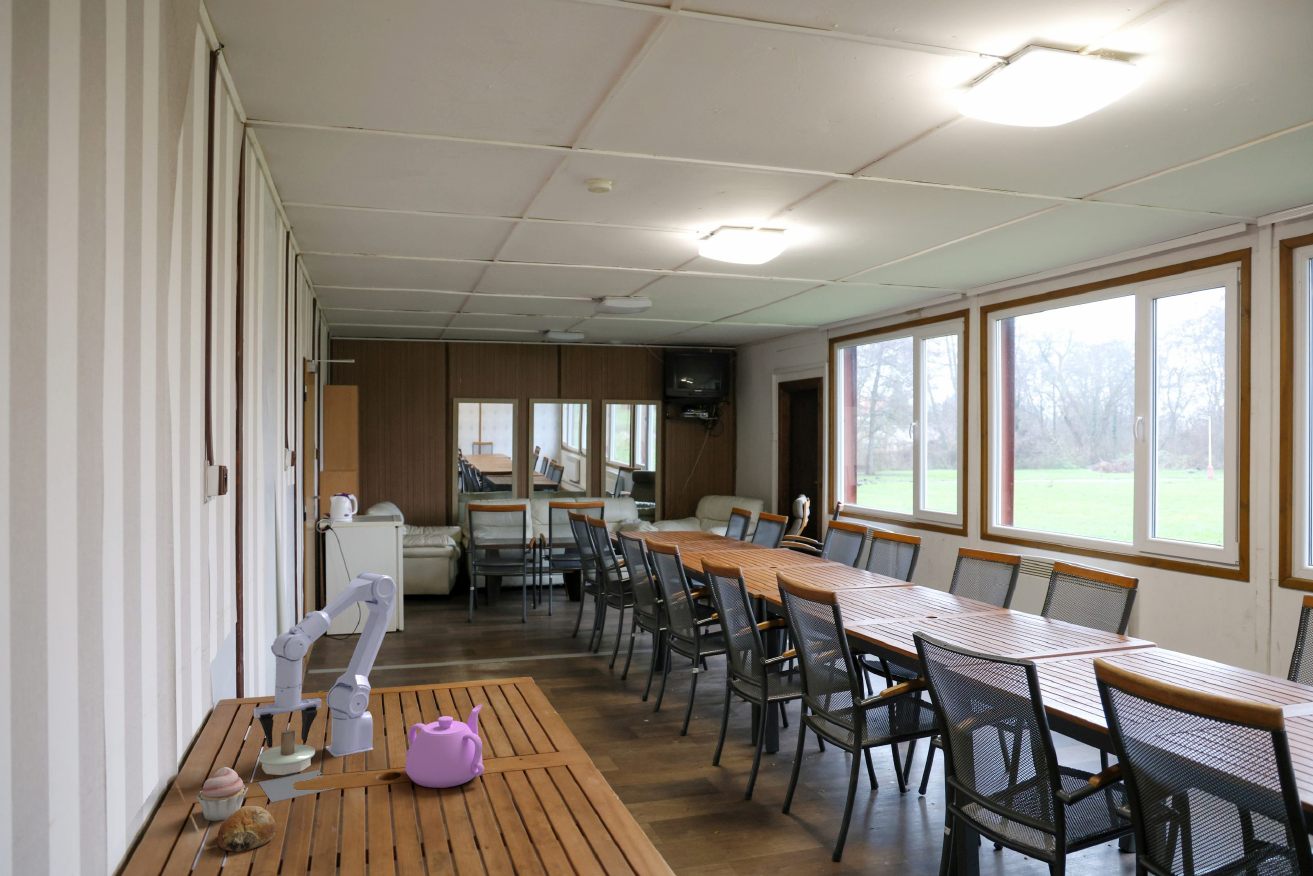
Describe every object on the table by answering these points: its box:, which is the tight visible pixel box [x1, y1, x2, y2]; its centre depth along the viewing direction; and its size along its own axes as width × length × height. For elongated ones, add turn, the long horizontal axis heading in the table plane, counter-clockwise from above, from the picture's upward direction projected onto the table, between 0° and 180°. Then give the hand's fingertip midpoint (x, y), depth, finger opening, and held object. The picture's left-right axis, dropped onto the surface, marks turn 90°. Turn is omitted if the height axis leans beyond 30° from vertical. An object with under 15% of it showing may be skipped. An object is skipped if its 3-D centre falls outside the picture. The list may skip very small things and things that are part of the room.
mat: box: [257, 769, 336, 803], centre depth 187 cm, size 13×13×1 cm
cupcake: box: [196, 766, 249, 822], centre depth 172 cm, size 9×9×10 cm
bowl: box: [261, 758, 312, 776], centre depth 198 cm, size 10×10×3 cm
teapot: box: [405, 704, 485, 789], centre depth 197 cm, size 22×22×14 cm
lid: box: [258, 729, 316, 765], centre depth 198 cm, size 12×12×6 cm
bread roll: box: [217, 805, 277, 852], centre depth 162 cm, size 10×10×8 cm
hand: (287, 743), depth 199 cm, fingers open, 7 cm apart
